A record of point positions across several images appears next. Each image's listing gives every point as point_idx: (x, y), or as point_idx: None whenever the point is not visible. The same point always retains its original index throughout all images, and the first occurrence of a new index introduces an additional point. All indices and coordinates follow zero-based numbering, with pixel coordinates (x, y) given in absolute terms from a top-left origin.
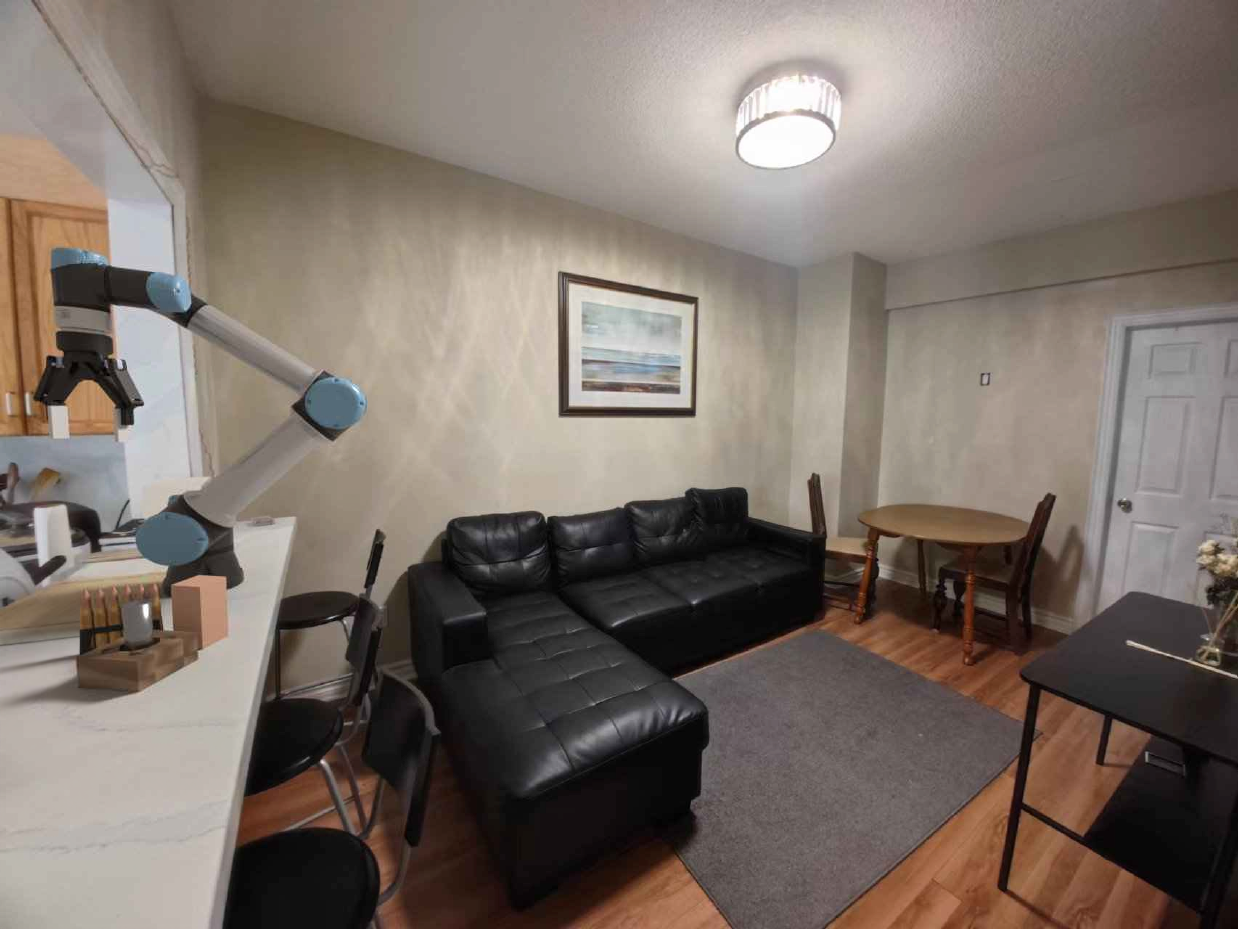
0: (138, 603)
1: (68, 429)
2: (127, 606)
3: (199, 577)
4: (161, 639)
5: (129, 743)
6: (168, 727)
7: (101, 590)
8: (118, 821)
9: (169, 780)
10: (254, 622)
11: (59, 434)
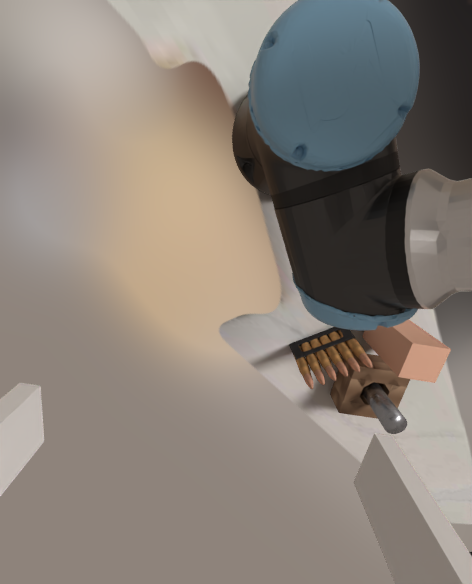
0: (396, 424)
1: (1, 423)
2: (390, 430)
3: (418, 352)
4: (387, 386)
5: (408, 448)
6: (422, 436)
7: (324, 382)
8: (437, 491)
9: (446, 472)
10: None
11: (29, 438)
